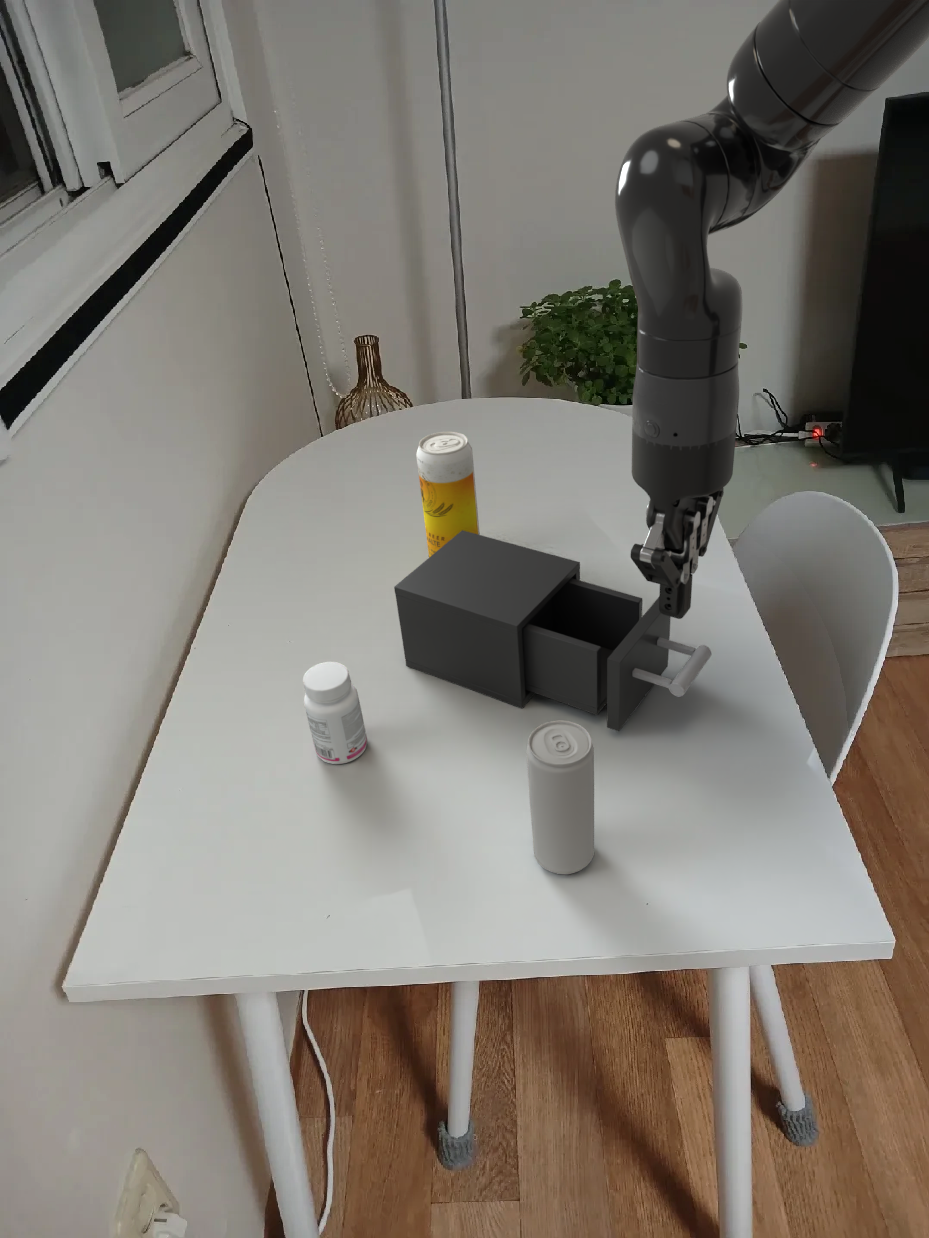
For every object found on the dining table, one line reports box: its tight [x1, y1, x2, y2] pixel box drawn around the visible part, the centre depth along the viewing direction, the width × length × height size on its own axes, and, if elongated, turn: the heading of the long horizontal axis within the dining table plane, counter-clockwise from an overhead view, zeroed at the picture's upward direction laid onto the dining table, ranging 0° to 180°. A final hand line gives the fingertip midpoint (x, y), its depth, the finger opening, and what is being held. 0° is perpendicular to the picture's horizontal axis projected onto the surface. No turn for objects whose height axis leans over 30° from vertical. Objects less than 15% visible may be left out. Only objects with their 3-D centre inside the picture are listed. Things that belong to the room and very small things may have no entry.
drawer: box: [522, 578, 712, 732], centre depth 87 cm, size 17×10×8 cm, turn 56°
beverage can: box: [526, 719, 595, 875], centre depth 71 cm, size 5×5×12 cm
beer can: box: [415, 431, 481, 558], centre depth 107 cm, size 6×6×15 cm
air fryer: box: [393, 530, 581, 709], centre depth 93 cm, size 14×12×10 cm
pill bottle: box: [302, 661, 368, 765], centre depth 84 cm, size 5×5×8 cm
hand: (674, 611), depth 80 cm, fingers closed
